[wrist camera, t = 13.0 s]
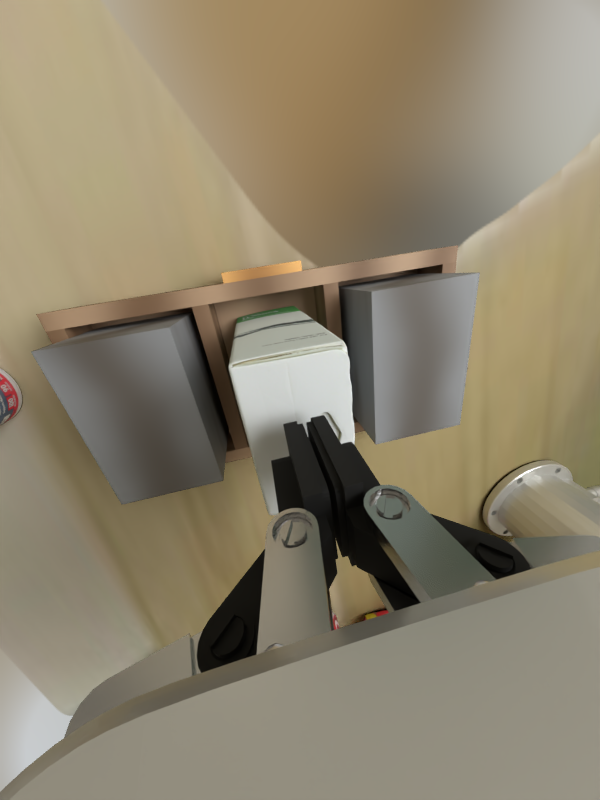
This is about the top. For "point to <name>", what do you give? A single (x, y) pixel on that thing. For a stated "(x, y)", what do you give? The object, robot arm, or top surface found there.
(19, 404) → the pill bottle
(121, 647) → the top surface
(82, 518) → the top surface
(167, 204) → the top surface
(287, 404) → the ink box
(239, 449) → the rack
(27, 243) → the top surface
